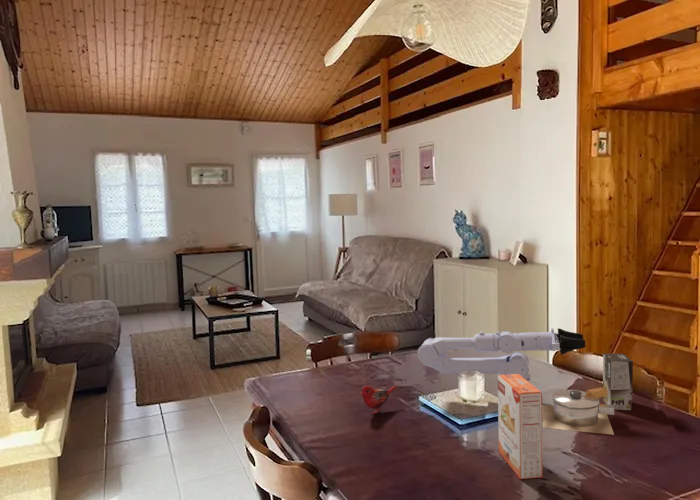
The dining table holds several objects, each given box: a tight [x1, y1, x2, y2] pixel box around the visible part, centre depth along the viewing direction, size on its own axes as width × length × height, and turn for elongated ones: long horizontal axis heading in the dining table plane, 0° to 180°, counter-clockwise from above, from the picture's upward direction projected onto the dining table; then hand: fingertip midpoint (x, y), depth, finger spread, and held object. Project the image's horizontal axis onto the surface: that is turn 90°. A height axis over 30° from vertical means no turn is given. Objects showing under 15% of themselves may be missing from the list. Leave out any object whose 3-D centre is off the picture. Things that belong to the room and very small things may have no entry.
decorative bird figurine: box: [360, 384, 398, 416], centre depth 169 cm, size 3×18×10 cm, turn 137°
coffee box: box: [602, 353, 634, 411], centre depth 167 cm, size 9×6×16 cm
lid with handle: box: [551, 386, 607, 409], centre depth 158 cm, size 17×13×2 cm
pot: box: [552, 400, 615, 427], centre depth 157 cm, size 16×12×5 cm
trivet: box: [542, 404, 615, 436], centre depth 157 cm, size 18×18×1 cm
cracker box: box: [497, 374, 544, 480], centre depth 132 cm, size 14×6×21 cm, turn 5°
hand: (584, 340), depth 165 cm, fingers open, 7 cm apart
